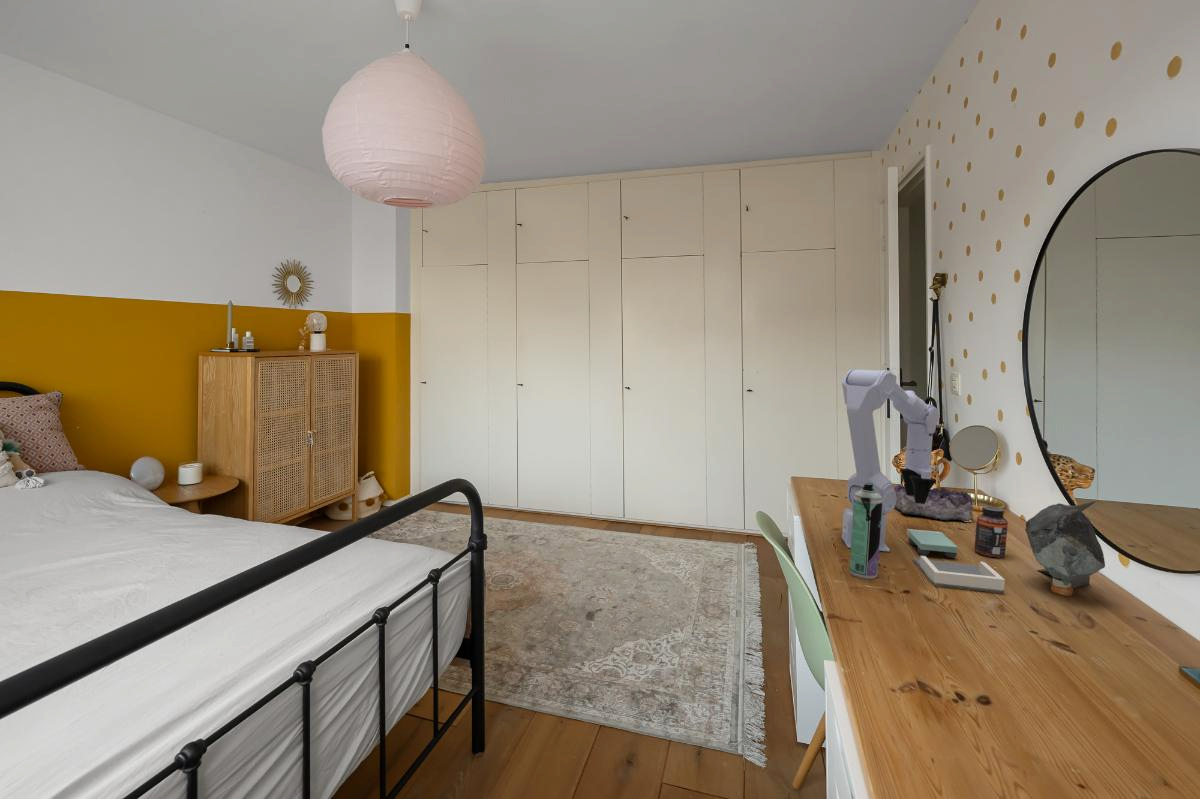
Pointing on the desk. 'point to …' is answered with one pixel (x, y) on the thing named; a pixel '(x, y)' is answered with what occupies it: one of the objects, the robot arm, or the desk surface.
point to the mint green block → (932, 542)
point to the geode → (937, 504)
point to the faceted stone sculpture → (1065, 546)
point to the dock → (961, 575)
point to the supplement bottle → (991, 532)
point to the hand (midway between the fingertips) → (915, 499)
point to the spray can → (866, 533)
